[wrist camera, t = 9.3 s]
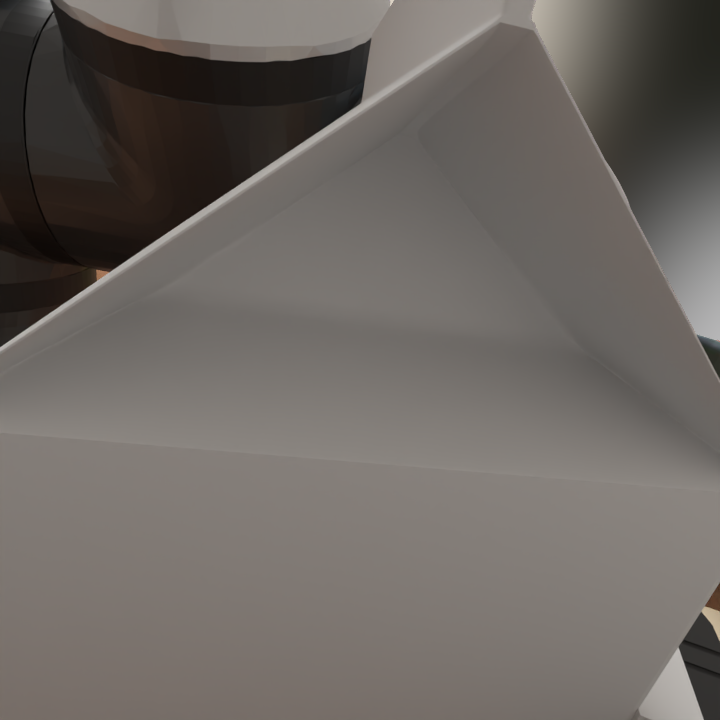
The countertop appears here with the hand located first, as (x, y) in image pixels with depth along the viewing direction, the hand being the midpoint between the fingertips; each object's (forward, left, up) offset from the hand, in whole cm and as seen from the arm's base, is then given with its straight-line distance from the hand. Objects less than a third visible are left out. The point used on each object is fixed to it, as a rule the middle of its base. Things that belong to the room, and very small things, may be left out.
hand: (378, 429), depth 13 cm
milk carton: (0, -4, -11) cm, 12 cm away
